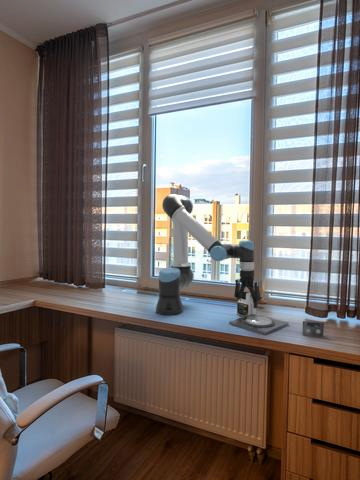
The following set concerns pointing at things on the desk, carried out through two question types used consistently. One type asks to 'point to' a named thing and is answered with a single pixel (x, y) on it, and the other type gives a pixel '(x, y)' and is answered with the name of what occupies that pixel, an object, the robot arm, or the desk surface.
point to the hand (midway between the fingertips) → (247, 312)
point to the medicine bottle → (245, 304)
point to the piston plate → (259, 324)
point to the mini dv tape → (313, 328)
